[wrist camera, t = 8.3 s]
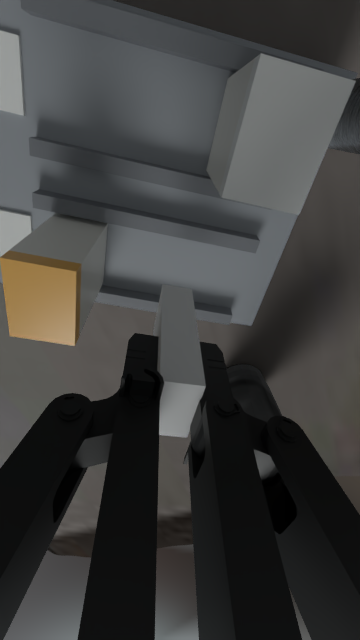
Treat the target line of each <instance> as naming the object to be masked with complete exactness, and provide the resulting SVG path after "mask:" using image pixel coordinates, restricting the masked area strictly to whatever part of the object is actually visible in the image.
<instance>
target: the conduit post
mask: <svg viewBox="0 0 360 640" xmlns="http://www.w3.org/2000/svg"><path fill="white" fill-rule="evenodd" d="M352 80H354V81H356V82H355V84H354V87H353V89H352V91H351V94H350V96H349V99H348V101H347V103H346V106H345V108H344V110H343V113H342V115H341V117H340V120H339V122H338V125H337V127H336V129H335V132H334V134H333V136H332V139H331V141H330V143H329V146H328V148H331V149H336V150H341V151H345V152H350V153H355V154H360V78H356V79H352Z"/></svg>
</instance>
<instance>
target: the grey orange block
mask: <svg viewBox="0 0 360 640" xmlns="http://www.w3.org/2000/svg"><path fill="white" fill-rule="evenodd" d="M107 227H108V223H104V222H99V221H94V220H89V219H84V218H79V217H75V216H70V215H65V214H60V213H55V214H54V215H53V216H52V217H50V218H49V219H48V220H47V221H45V222H44V223H43V224H41V225H40V226H39V227H38V228H36V229H35V230H34V231H33V232H31V233H30V234H29V235H28V236H26V237H25V238H24V239H23V240H21V241H20V242H19V243H17V244H16V245H15V246H14V247H12V248H11V249H10V250H9V251H7V252H6V253H5V254H4V255H2V256H1V257H0V264H1V272H2V279H3V287H4V295H5V302H6V310H7V318H8V325H9V333H10V336H13V337H19V338H26V339H32V340H39V341H46V342H52V343H59V344H65V345H72V346H75V345H76V342H77V340H78V338H79V336H80V333H81V331H82V329H83V327H84V324H85V322H86V320H87V318H88V315H89V313H90V311H91V309H92V306H93V304H94V302H95V300H96V297H97V295H98V293H99V291H100V288H101V286H102V284H103V279H104V266H105V253H106V240H107Z"/></svg>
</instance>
